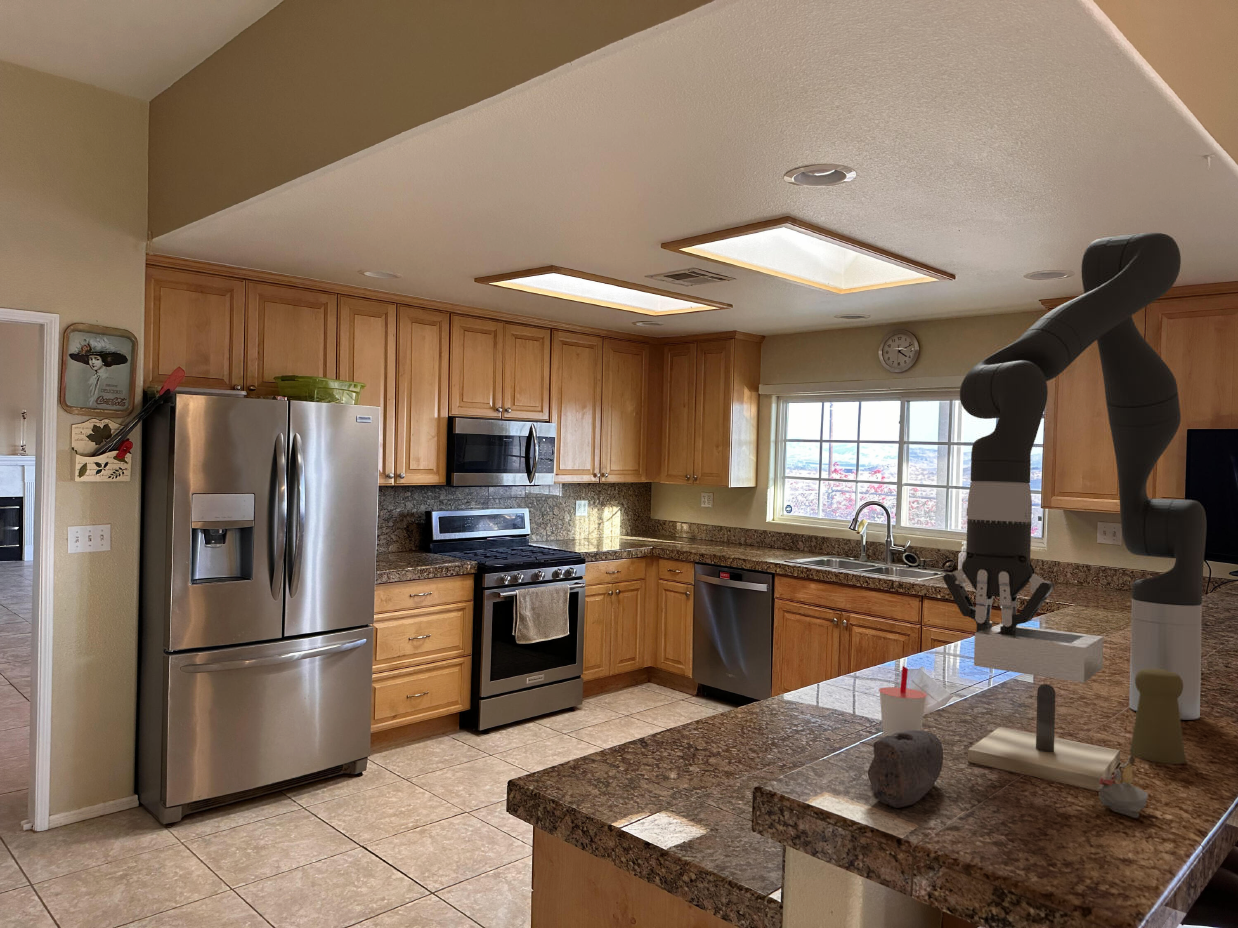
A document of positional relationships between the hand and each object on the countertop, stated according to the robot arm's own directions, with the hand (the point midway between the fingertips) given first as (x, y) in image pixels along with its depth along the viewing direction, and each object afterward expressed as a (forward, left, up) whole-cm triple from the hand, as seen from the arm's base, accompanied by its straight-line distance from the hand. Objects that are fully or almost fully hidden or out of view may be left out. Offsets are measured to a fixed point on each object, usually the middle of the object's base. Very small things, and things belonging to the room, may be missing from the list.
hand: (995, 653), depth 107 cm
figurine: (+12, +16, -13) cm, 24 cm away
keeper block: (0, +6, -12) cm, 14 cm away
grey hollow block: (0, +5, -1) cm, 5 cm away
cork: (-14, +16, -13) cm, 25 cm away
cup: (+16, -6, -13) cm, 21 cm away
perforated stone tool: (+24, -2, -13) cm, 27 cm away
